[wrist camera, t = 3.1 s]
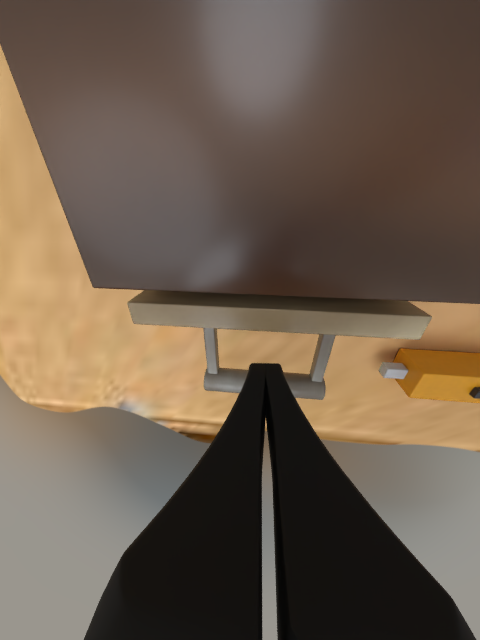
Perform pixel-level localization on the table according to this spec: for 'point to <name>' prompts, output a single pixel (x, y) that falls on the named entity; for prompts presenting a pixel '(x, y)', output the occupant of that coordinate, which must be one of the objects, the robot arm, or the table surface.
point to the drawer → (277, 326)
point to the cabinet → (261, 142)
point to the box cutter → (436, 374)
